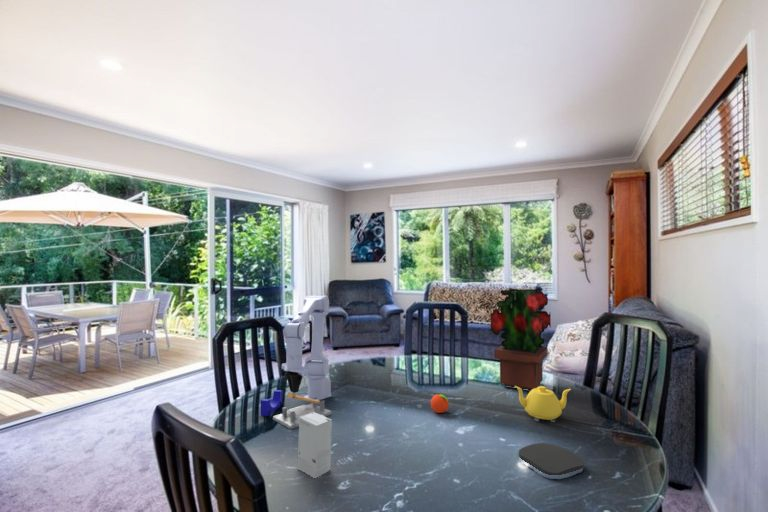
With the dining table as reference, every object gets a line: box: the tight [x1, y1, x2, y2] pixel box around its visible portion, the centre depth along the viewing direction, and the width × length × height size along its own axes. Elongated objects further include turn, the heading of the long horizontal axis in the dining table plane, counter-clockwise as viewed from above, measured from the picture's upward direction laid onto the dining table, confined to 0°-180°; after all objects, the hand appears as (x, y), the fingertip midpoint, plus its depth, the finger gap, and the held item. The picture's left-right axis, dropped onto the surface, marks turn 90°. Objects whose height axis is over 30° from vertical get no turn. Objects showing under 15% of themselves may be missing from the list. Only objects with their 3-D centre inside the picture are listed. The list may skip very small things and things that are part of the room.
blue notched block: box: [260, 389, 283, 417], centre depth 154 cm, size 12×4×6 cm, turn 169°
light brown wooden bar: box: [286, 391, 321, 406], centre depth 147 cm, size 15×4×2 cm, turn 136°
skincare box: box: [296, 412, 333, 479], centre depth 109 cm, size 8×6×15 cm
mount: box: [272, 397, 332, 430], centre depth 146 cm, size 18×12×5 cm, turn 136°
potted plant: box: [489, 288, 552, 390], centre depth 181 cm, size 22×22×45 cm
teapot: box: [515, 385, 572, 421], centre depth 145 cm, size 20×15×12 cm
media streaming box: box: [518, 442, 585, 475], centre depth 112 cm, size 15×15×3 cm
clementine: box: [430, 393, 450, 414], centre depth 150 cm, size 8×7×7 cm
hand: (294, 391), depth 144 cm, fingers closed
